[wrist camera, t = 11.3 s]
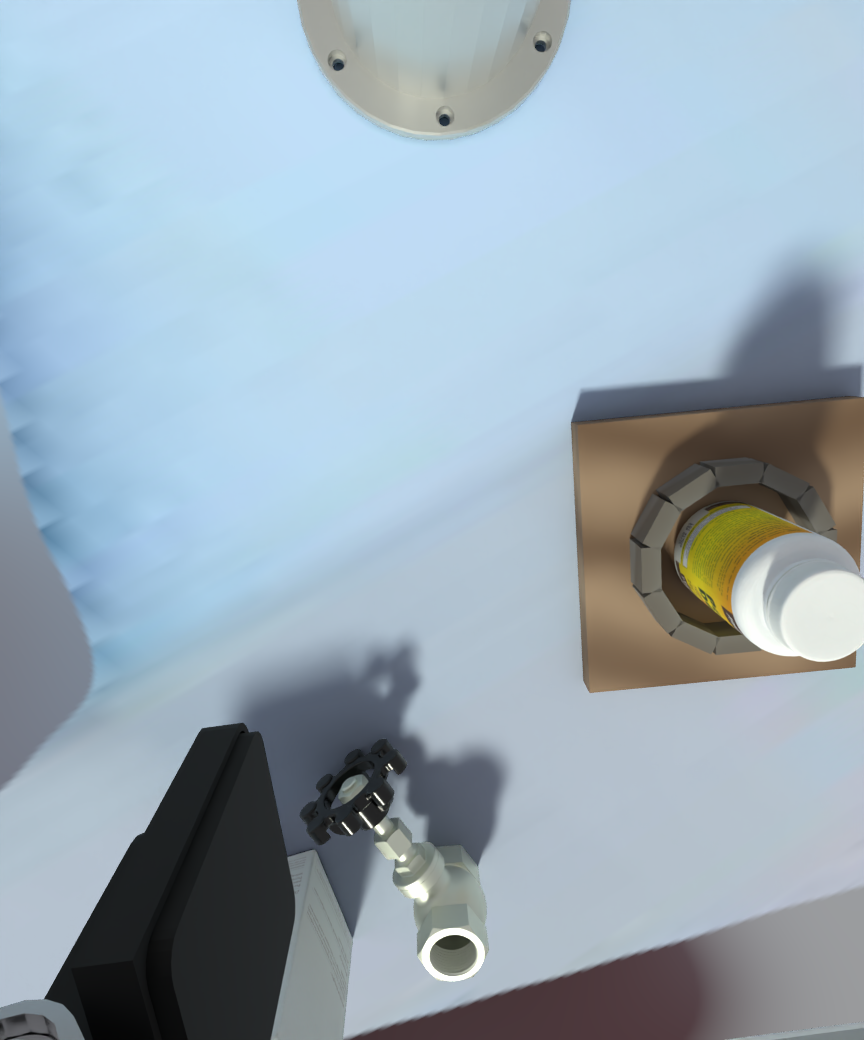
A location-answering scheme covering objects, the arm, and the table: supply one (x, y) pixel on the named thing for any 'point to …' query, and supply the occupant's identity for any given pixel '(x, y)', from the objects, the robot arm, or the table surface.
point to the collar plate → (667, 507)
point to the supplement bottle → (773, 581)
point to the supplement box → (314, 959)
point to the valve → (409, 862)
